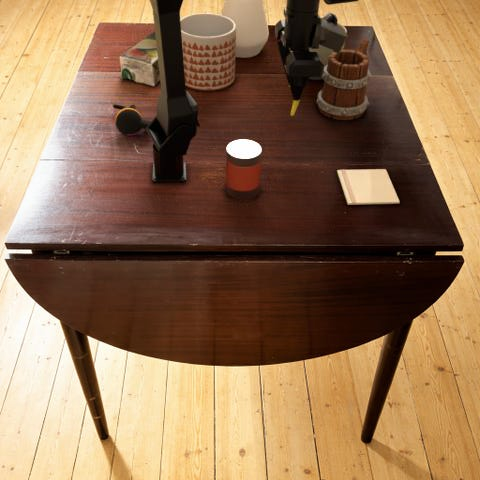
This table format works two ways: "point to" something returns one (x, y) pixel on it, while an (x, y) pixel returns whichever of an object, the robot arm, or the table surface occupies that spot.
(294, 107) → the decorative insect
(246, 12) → the white rounded pot
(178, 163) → the robot arm
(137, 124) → the character figurine
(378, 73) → the table surface
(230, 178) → the can
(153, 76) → the juice carton
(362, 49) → the mug
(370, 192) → the napkin
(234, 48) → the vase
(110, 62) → the table surface
